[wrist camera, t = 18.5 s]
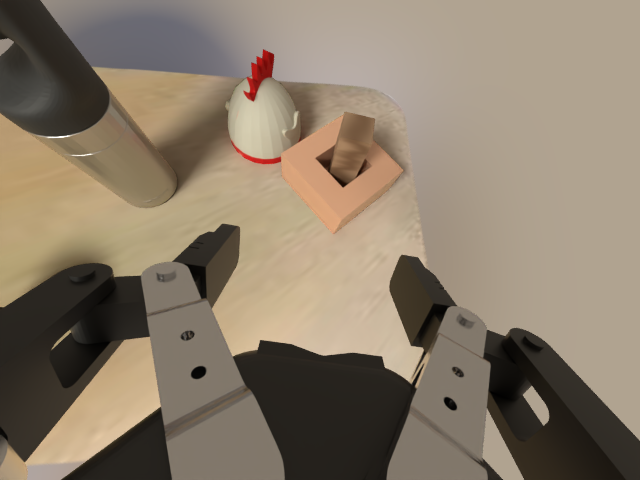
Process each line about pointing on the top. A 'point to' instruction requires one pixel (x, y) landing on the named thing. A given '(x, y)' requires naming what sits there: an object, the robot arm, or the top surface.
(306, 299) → the top surface
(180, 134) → the top surface
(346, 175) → the walnut bar
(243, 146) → the kitchen timer
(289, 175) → the terracotta well block
